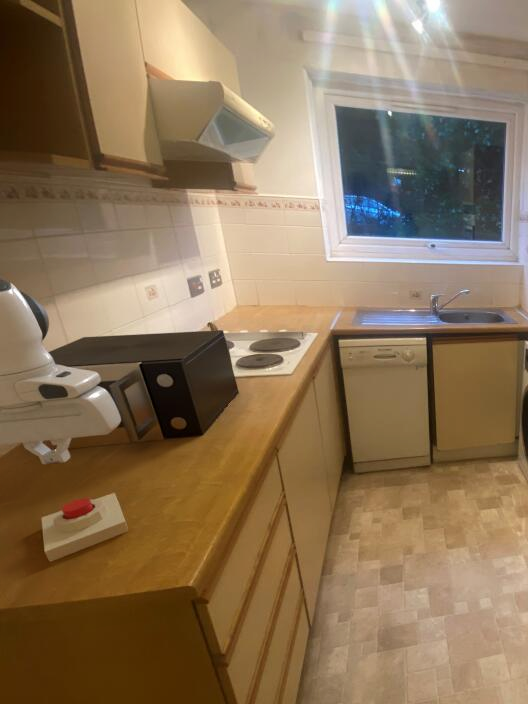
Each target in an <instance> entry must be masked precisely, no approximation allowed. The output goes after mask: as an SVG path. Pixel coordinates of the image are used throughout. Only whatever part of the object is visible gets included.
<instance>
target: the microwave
mask: <svg viewBox="0 0 528 704" xmlns="http://www.w3.org/2000/svg"><path fill="white" fill-rule="evenodd" d="M225 338H226V336H225V333H224V329H218V330H217V331H211V330H200V331H199V330H197V331H180V332H178V331H177V332H162V333H161V332H159V333H140V334H139V333H137V334H121V335H120V334H119V335H101V336H99V335H98V336H83V337H81V338H79V339H76V340H74V341H72V342H69V343H66V344H64V345H62V346H60V347H57V348H54V349H52V350H50V351H47V352H48V353H49V354H50V355H51V356H52V358H53V360H54V362H55V364H56V365H62V366H66V367H73V366H89V365H105V364H121V363H136V362H142V364H141V365H142V368H143V371H144V374H145V377H146V380H147V383H148V386H149V388H150V391H151V394H152V397H153V400H154V403H155V406H156V409H157V412H158V415H159V418H160V421H161V424H162V427H163V430H164V433H165V436H166V438H165V439H167V440H169V439H176V438H187V437H188V438H189V437H197V436H204V434H206V433H207V431H209V429H210V428H211V427H212V425H213V424H214V423H215V422H216V421H217V420H218V419H219V417H220V416H221V415H222V414H223V413H224V411H225V410H226V409H227V408H228V406H229V405H230V404H231V403H232V402H233V401H234V400H235V398H236V397H237V396H238V395H239V394H240V392H239V388H238V384H237V380H236V376H235V372H234V369H233V363H232V364H231V362H232V359H231V360H230V356H231V355H230V356H229V352H230V351H229V352H228V348H227V344H226V340H227V339H226V340H225ZM238 393H239V394H238ZM237 394H238V395H237ZM236 395H237V396H236ZM235 396H236V397H235ZM234 397H235V398H234ZM233 399H234V400H233ZM231 401H232V402H231ZM230 402H231V403H230ZM229 403H230V404H229ZM228 404H229V405H228ZM226 407H227V408H226ZM225 408H226V409H225ZM224 409H225V410H224ZM221 413H222V414H221ZM220 414H221V415H220ZM216 419H217V420H216Z"/></svg>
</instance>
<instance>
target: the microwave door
mask: <svg viewBox="0 0 528 704" xmlns="http://www.w3.org/2000/svg"><path fill="white" fill-rule="evenodd" d="M141 364H142V362H136V363H121V364H105V365H89V366H73V367H71V368H76V369H82V370H89V371H94V372H97V373H98V374H99V376H100V378H101V382H100V383H99V384H98V385H96V386H100V387H102V388H104V389H105V390H106V391H107V392H108V393H109V394H110V396H111V397H112V399H113V401H114V403H115V405H116V407H117V409H118V412H119V414H120V417H121V422H120V424H119V426H118V427H117V428H115V429H114V430H113V431H112V432H110V433H109V434H106V435H96V436H86V437H76V438H71V441H70V444H69V447H68V450H69V449H70V450H73V449H80V448H91V447H100V446H101V447H102V446H112V445H120V444H121V445H122V444H133V443H141V442H143V443H144V442H151V441H152V442H153V441H162V440H165V439H166V436H165V433H164V430H163V427H162V424H161V421H160V418H159V415H158V412H157V409H156V406H155V403H154V400H153V397H152V394H151V391H150V388H149V386H148V383H147V380H146V377H145V374H144V371H143V368H142V365H141ZM42 443H43V444H44V445H46V446H47V447H48V448H49V449H51V450H56V448H57V445H52V443H51V441H50V440H46V441H43V442H42Z"/></svg>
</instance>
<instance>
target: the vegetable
mask: <svg viewBox="0 0 528 704" xmlns="http://www.w3.org/2000/svg"><path fill="white" fill-rule="evenodd" d="M206 326H207V327H208V328H209V329H210V331H217V330H219V328H218V327H217V325H216V324H214V322H211V321H209V322H207V323H206ZM225 340H226V344H227V348H228V352H229V356H230V360H231V364H232V365H233V363H232V356H231V352H230V347H229V344H228V341H227V338H226V337H225Z"/></svg>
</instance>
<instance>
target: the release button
mask: <svg viewBox="0 0 528 704" xmlns="http://www.w3.org/2000/svg"><path fill="white" fill-rule="evenodd" d="M90 500H91V499H90V498H79V499H75V500H72V501H70V502H68V503H66V504H65V505H64V506H62V508H61V510H62V511H63V513H64V516H65V518H66V519H74V518H78V517H81V516H83V515H86V514H87V513H89V512H91V511H92V510H93V506H92V503H91V501H90Z"/></svg>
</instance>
